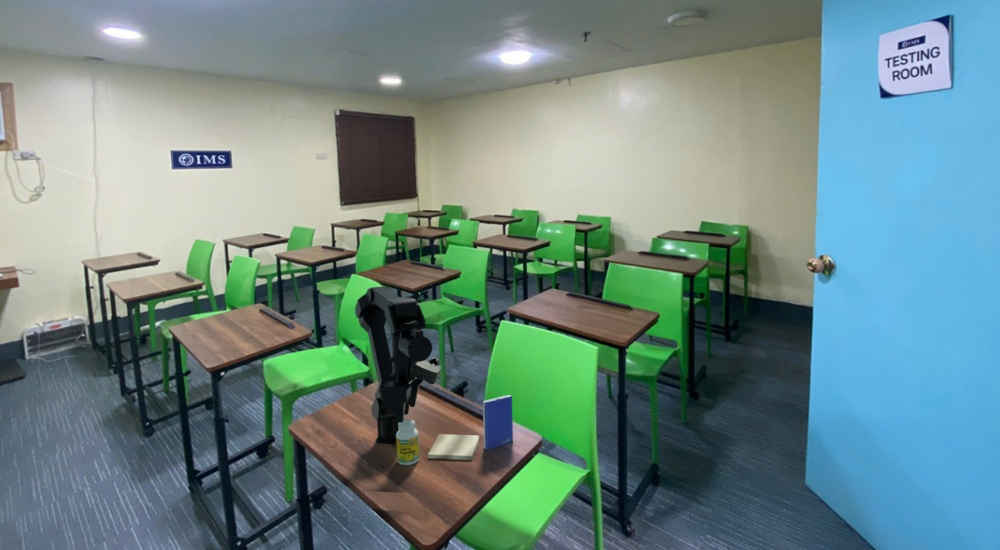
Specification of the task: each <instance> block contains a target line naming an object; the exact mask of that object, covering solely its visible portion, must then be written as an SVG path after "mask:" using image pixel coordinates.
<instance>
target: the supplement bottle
mask: <svg viewBox="0 0 1000 550" xmlns="http://www.w3.org/2000/svg"><path fill="white" fill-rule="evenodd" d="M398 429H399V431H398V432H397V433H396V443H395V444H396V457H397V463H398V464H399V465H403V466H410V465H414V464H416V463H418V462H419V460H420V439H419V435H420V434H419V431H418V429H417V428H416V421H415V420H414V419H405V420H403V422H402V423H398Z"/></svg>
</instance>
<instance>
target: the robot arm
mask: <svg viewBox="0 0 1000 550" xmlns="http://www.w3.org/2000/svg"><path fill="white" fill-rule="evenodd" d="M355 304H356V305H355V307H354V312H355V318H357V319H358V323H359V326H360V327H361V328H362V329H363V330H364V331H366V332H367V336H368V340H369V345H370V349H371V354H372V358H373V363H374V368H375V372H376V377H377V382H378V383H377V387H376V390H375V392H374V398H375V399H374V401H373V403H372V404H371V405H372V406H371V410H370V411H371V415H372V417H373V419H375V420H376V423H377V424H376V425H377V437H376V439H375V442H376V443H387V444H388V443H390V444H391V443H392V444H394V443H395V444H396V433H397V432H398V431H399V429H398V423H402V422H403V420H406V419H405V416H406V415H409V411H410V408H415V407H416V403H417V398H418V394H419V389H420V385H421V384H422V383H423V382H426V383H427V384H429V385H435V384H436V382H437V381H438V379H439V376H440V373H441V371H442V365H441V364H440V359H439V358H437V357H435V356H433V357H432V358H430V360H427V359H428V358H429V357H430V356H431V354H432V352H433V344H432V342H431V340H430V339H429V338H428V337H427V336H424V331H423V330H425V329H426V328H427V327H426V318H425V316H424V313H423V311H422V308H421V305H420V304H419V303H418V302H417V300H416V299H415V298H414V297H413V298H412V297H400V296H398V295H397V294H395V293H394V292H393V291H392V290H389V288H388V287H387V286H374V287H373V286H372V287H370V288H368V289H366V292H365V293H364V294H363V295H361V296H360V297H359V298H358V299H357V301H356V303H355ZM385 324H387V325H388V327H389V330H390V331H391V332H390V333H391V338H390V339H391V351H390V347H389V342H388V337H387V333H386V329H385Z"/></svg>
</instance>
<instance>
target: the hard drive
mask: <svg viewBox="0 0 1000 550" xmlns="http://www.w3.org/2000/svg"><path fill="white" fill-rule="evenodd" d="M482 416H483V417H482V419H483V420H482V421H483V448H484V450H490V449H493V448H496V447H500V446H503V445H507V444H510V443H513V442H514V436H513V435H514V433H513V432H514V425H513V418H514V417H513V395H510V394H507V395H502V396H498V397H494V398H489V399H486V400H483V401H482Z"/></svg>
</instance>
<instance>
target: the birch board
mask: <svg viewBox="0 0 1000 550" xmlns="http://www.w3.org/2000/svg"><path fill="white" fill-rule="evenodd" d="M479 441H480V435H473V434H472V435H471V434H449V433H448V434H447V433H446V434H445V433H444V434H441V433H439V434H438V435H437V437H436V439H435V441H434V443H433V445H432V446H431V448H430V450H429V451H428V453H427V458H428V459H435V460H436V459H441V460H464V461H465V460H466V461H473V458H474V455H475V453H476V450H477V447H478V445H479Z"/></svg>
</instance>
